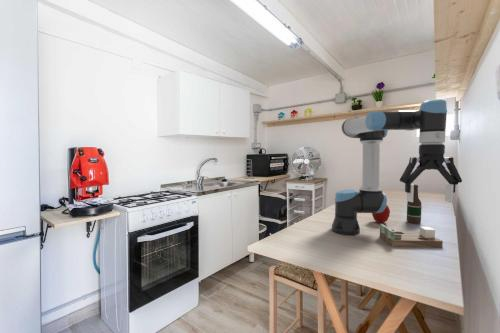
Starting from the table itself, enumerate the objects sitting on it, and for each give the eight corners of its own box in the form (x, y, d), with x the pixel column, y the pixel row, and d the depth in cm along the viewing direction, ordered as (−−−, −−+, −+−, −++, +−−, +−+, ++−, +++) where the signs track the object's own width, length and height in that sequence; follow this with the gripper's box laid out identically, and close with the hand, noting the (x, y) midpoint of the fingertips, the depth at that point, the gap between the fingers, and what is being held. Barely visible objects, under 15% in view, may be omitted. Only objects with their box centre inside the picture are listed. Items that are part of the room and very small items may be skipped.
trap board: (379, 236, 129) (379, 223, 129) (424, 237, 128) (425, 224, 127) (392, 246, 116) (392, 232, 116) (442, 247, 115) (443, 232, 114)
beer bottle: (419, 224, 148) (420, 186, 147) (404, 222, 154) (405, 184, 153) (422, 222, 154) (424, 184, 152) (408, 219, 159) (409, 183, 158)
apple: (391, 222, 154) (392, 200, 153) (386, 225, 147) (386, 203, 146) (374, 219, 162) (375, 198, 161) (368, 222, 155) (369, 200, 154)
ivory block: (419, 234, 124) (419, 226, 123) (428, 234, 123) (429, 226, 123) (425, 237, 119) (425, 229, 119) (434, 237, 119) (435, 229, 119)
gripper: (401, 144, 85) (399, 203, 87) (477, 143, 83) (473, 204, 85) (390, 144, 93) (389, 199, 94) (460, 143, 91) (457, 199, 92)
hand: (429, 201), depth 89 cm, fingers open, 13 cm apart
